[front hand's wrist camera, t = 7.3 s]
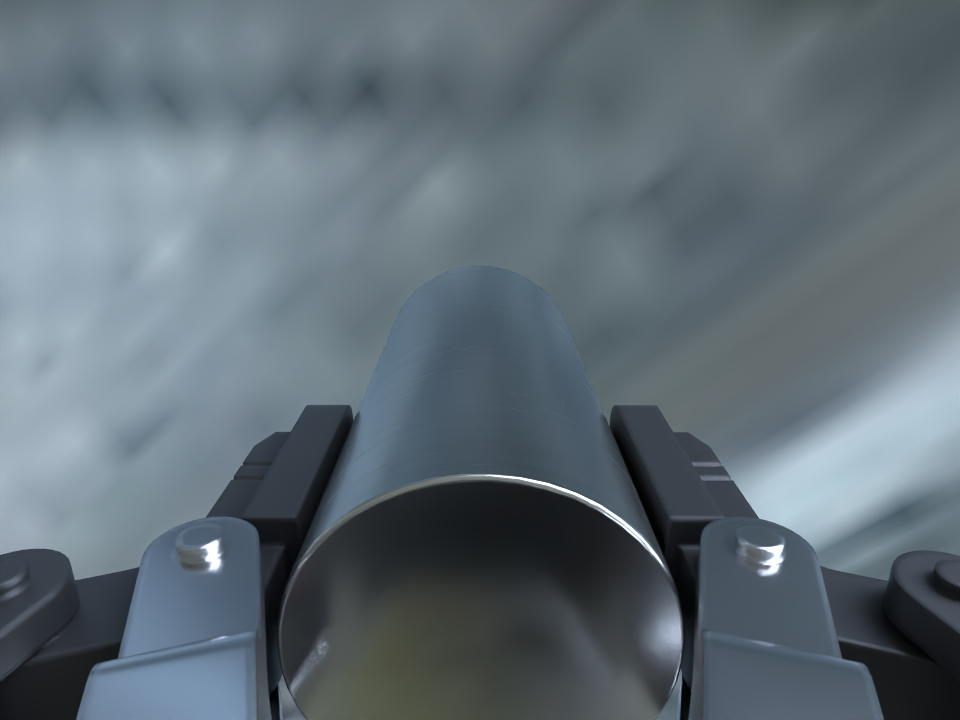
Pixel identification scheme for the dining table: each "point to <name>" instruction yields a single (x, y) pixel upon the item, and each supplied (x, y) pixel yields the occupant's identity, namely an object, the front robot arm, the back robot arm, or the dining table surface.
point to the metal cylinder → (480, 533)
